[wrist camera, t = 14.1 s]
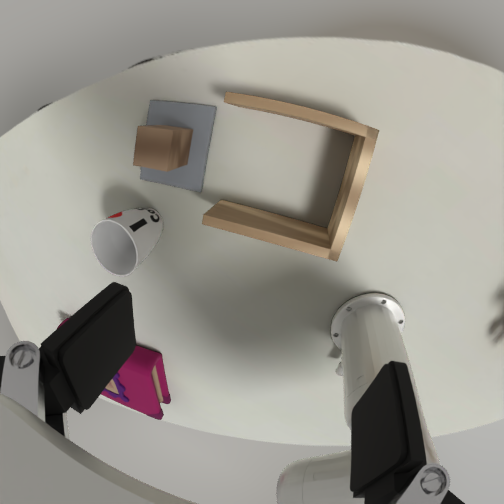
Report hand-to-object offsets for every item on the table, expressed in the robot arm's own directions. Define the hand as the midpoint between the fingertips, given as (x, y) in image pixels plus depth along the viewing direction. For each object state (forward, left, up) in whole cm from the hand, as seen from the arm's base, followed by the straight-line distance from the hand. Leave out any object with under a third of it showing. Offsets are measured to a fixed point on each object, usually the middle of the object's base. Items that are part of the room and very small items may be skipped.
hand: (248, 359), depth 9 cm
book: (-51, +30, -30) cm, 67 cm away
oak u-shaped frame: (+2, +1, -30) cm, 30 cm away
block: (+2, +17, -29) cm, 34 cm away
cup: (-11, +20, -30) cm, 38 cm away
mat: (+2, +17, -30) cm, 34 cm away
